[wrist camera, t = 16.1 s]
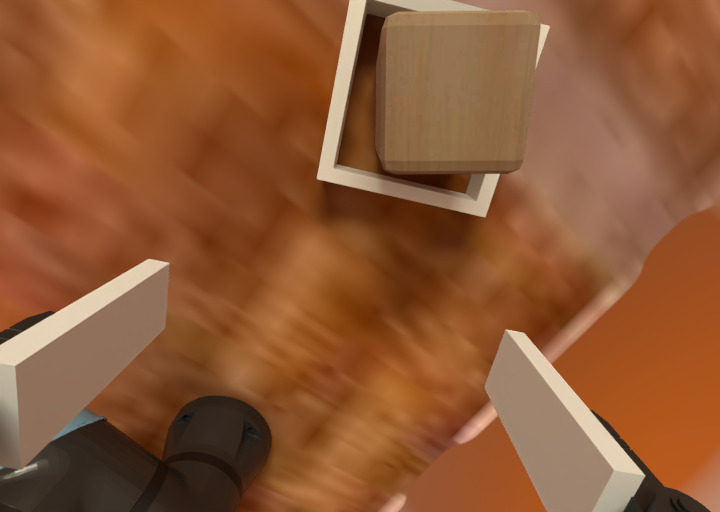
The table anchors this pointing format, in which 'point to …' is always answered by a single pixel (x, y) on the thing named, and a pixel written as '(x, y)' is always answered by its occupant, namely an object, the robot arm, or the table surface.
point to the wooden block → (455, 91)
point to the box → (377, 3)
